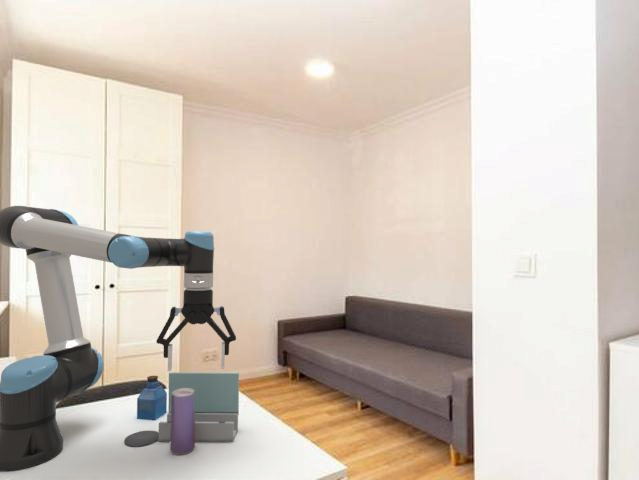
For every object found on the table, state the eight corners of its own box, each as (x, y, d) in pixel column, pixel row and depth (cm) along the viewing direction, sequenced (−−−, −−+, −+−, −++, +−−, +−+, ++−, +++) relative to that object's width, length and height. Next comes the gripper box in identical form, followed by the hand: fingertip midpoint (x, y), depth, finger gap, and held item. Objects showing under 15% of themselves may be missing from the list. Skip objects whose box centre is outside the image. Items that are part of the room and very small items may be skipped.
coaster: (117, 447, 107) (117, 445, 107) (133, 431, 116) (133, 430, 116) (152, 447, 107) (152, 445, 107) (165, 432, 116) (165, 430, 116)
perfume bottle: (166, 412, 130) (167, 374, 130) (155, 420, 124) (155, 380, 124) (148, 411, 131) (149, 373, 131) (136, 419, 125) (137, 379, 125)
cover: (168, 373, 117) (170, 372, 118) (168, 415, 117) (169, 414, 118) (238, 373, 117) (239, 372, 118) (238, 415, 117) (238, 414, 118)
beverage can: (187, 457, 102) (187, 396, 102) (165, 454, 103) (166, 394, 103) (198, 445, 107) (199, 388, 108) (178, 443, 109) (179, 387, 109)
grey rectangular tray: (158, 441, 110) (158, 422, 110) (168, 430, 117) (168, 411, 117) (232, 442, 110) (232, 422, 110) (237, 430, 117) (238, 412, 117)
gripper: (146, 290, 103) (143, 375, 102) (246, 289, 108) (244, 370, 108) (151, 287, 110) (149, 367, 109) (244, 287, 116) (243, 362, 115)
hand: (196, 368), depth 109 cm, fingers open, 13 cm apart
